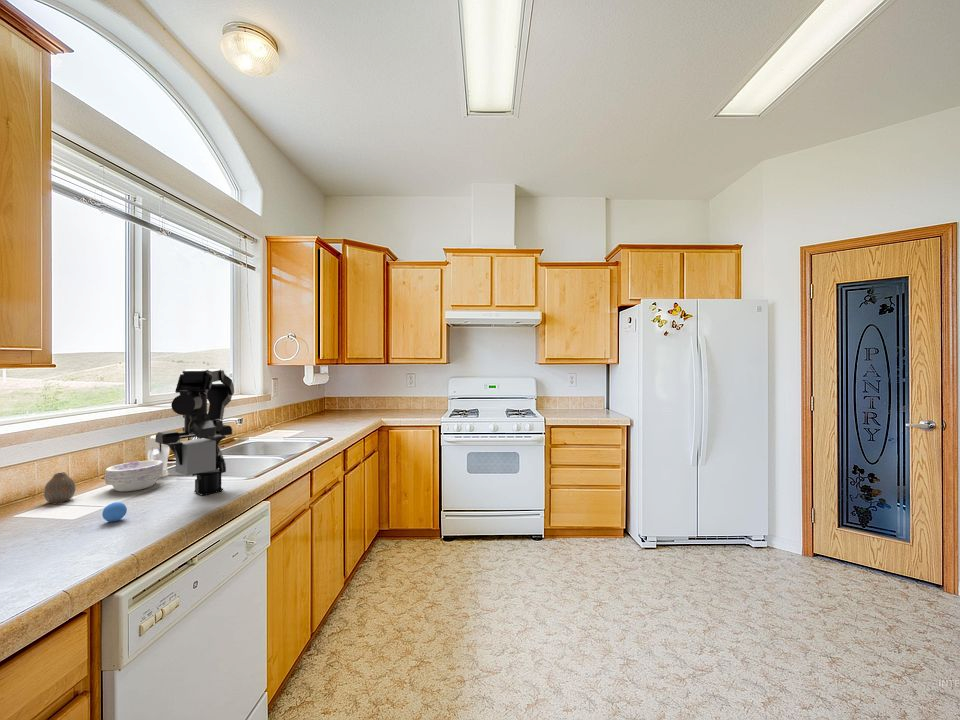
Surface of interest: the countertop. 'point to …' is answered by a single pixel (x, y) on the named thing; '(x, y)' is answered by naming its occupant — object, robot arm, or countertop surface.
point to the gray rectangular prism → (197, 456)
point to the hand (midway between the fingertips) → (195, 462)
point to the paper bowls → (134, 475)
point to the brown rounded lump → (59, 488)
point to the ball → (114, 511)
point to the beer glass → (158, 453)
